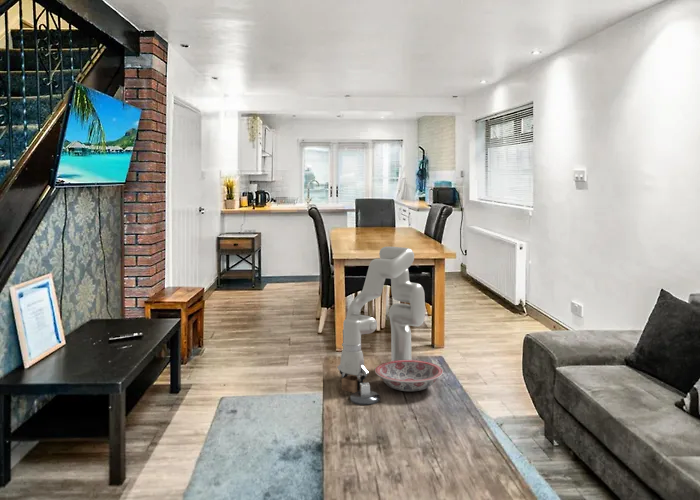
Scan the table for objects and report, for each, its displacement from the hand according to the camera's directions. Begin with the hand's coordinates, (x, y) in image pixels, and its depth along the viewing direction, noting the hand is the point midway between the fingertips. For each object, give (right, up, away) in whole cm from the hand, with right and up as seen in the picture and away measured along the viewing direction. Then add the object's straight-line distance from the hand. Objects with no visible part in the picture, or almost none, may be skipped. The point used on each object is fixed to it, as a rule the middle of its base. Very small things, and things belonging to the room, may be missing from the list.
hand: (353, 387), depth 243 cm
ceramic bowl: (+24, -1, +1) cm, 24 cm away
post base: (+5, -2, -12) cm, 13 cm away
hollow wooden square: (0, -1, 0) cm, 1 cm away
